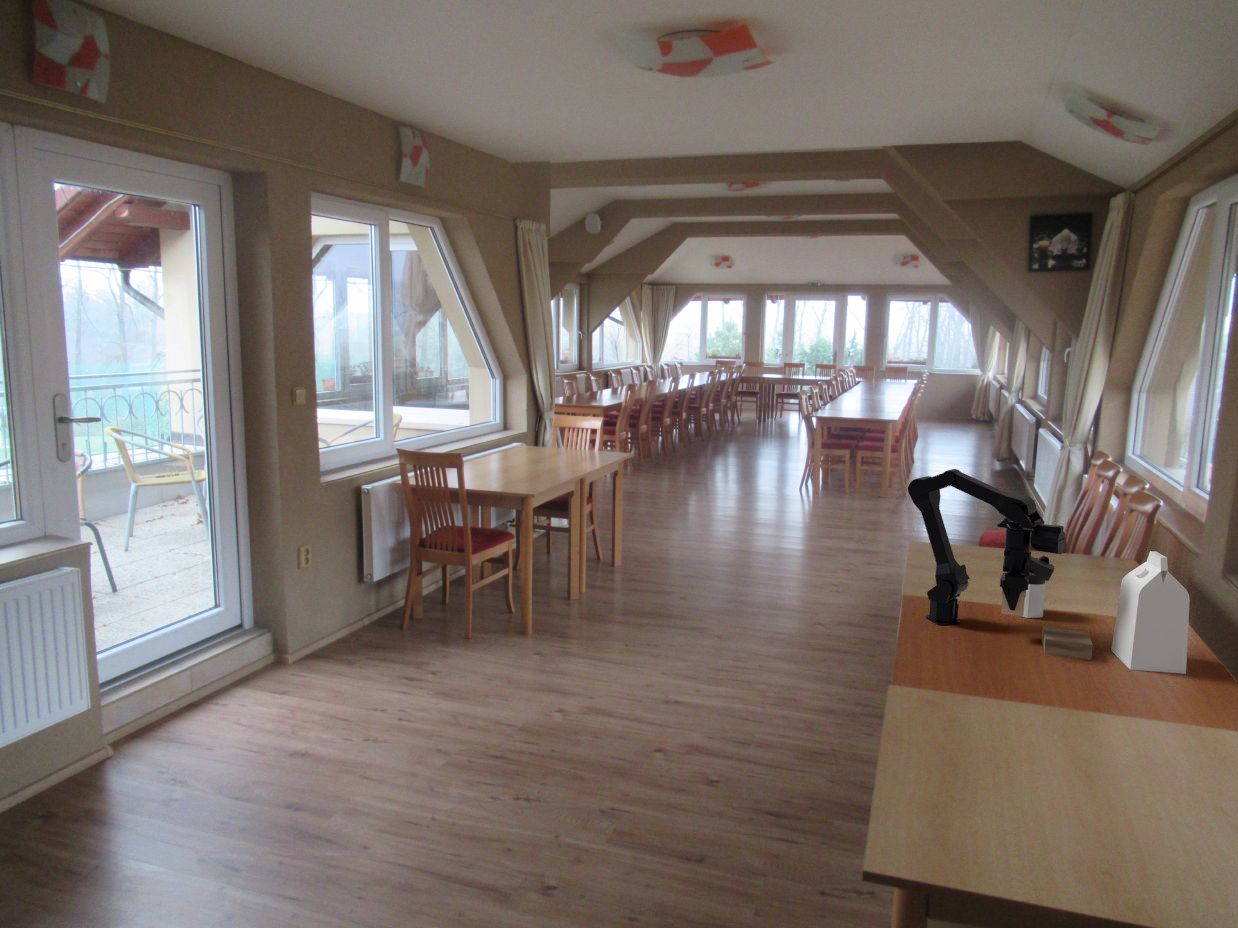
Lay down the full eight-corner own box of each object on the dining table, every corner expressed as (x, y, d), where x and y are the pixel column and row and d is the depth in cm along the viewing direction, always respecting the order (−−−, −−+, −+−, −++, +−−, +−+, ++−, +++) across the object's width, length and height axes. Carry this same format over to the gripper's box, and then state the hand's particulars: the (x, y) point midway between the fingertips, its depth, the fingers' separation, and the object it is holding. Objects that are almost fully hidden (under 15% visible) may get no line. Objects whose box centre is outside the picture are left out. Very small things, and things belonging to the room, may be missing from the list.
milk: (1185, 673, 192) (1198, 562, 188) (1130, 669, 194) (1141, 559, 190) (1163, 653, 204) (1174, 549, 200) (1111, 650, 206) (1121, 546, 202)
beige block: (1091, 661, 200) (1092, 645, 199) (1044, 654, 204) (1045, 638, 203) (1086, 646, 209) (1087, 631, 209) (1041, 640, 213) (1042, 625, 212)
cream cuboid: (1024, 616, 209) (1026, 593, 208) (1000, 613, 212) (1002, 590, 211) (1024, 610, 214) (1026, 587, 213) (1001, 607, 217) (1003, 584, 216)
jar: (1049, 614, 232) (1053, 572, 230) (1035, 620, 227) (1039, 577, 225) (1017, 606, 239) (1020, 565, 237) (1002, 612, 233) (1006, 570, 232)
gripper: (1054, 559, 199) (1048, 623, 201) (1053, 542, 215) (1048, 601, 218) (1002, 554, 203) (997, 616, 206) (1005, 537, 220) (1001, 595, 222)
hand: (1012, 607), depth 213 cm, fingers closed on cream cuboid, 5 cm apart
